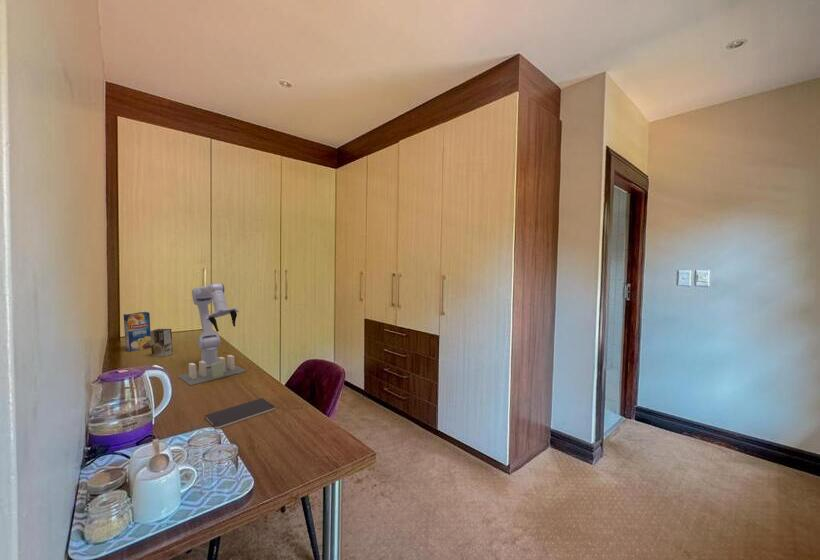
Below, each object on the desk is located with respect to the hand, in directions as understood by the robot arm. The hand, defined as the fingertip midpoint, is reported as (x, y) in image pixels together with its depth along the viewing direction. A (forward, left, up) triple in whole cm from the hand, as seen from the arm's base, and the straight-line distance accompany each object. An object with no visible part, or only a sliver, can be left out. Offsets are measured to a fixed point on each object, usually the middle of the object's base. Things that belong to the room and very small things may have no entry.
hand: (225, 328), depth 167 cm
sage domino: (-3, -4, -24) cm, 25 cm away
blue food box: (-105, -16, -25) cm, 109 cm away
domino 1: (-11, -12, -24) cm, 29 cm away
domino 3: (-11, +1, -24) cm, 27 cm away
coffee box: (-74, -10, -25) cm, 79 cm away
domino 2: (-11, -8, -24) cm, 28 cm away
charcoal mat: (-11, -3, -25) cm, 27 cm away
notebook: (+47, -13, -25) cm, 55 cm away
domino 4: (-11, +6, -24) cm, 27 cm away
